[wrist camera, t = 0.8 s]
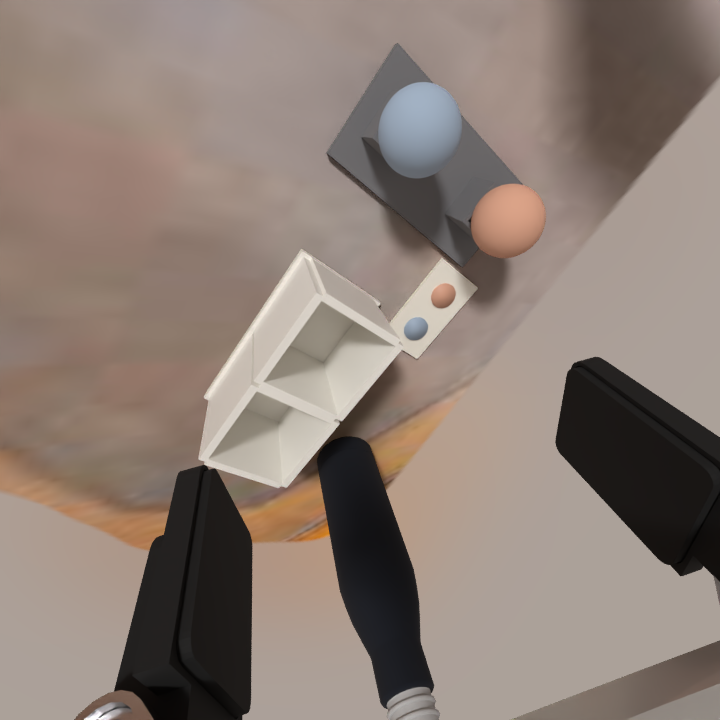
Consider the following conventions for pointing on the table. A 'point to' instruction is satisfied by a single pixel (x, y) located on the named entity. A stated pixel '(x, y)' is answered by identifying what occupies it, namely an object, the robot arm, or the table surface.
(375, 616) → the wine bottle
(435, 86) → the slate ball
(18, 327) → the table surface
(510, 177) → the ball stand
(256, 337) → the two-slot cubby shelf
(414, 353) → the card
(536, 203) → the terracotta ball
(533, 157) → the table surface
